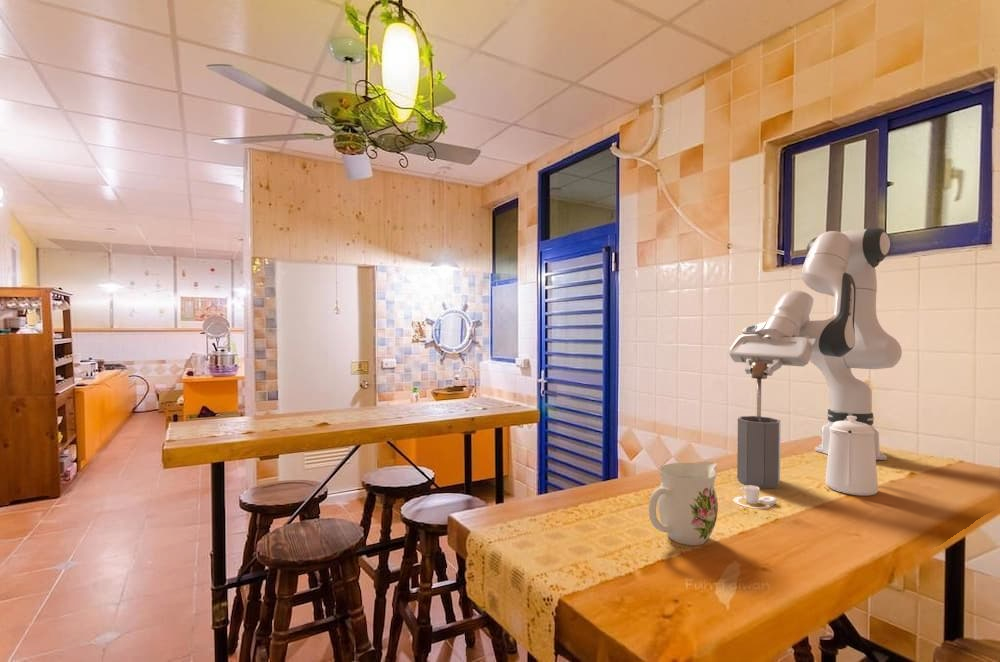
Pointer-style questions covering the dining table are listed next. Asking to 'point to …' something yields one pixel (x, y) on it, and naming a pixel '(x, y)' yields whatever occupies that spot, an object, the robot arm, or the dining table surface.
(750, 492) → the teacup and saucer
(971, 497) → the dining table surface
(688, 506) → the pitcher
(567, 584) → the dining table surface
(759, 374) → the plunger
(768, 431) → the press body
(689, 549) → the dining table surface
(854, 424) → the coffeepot
